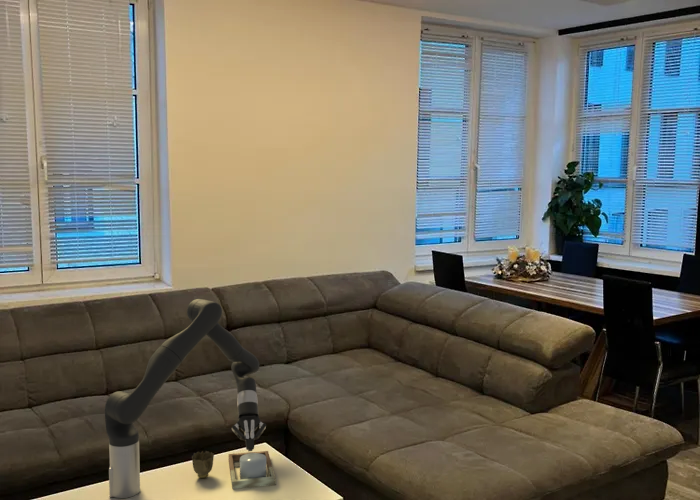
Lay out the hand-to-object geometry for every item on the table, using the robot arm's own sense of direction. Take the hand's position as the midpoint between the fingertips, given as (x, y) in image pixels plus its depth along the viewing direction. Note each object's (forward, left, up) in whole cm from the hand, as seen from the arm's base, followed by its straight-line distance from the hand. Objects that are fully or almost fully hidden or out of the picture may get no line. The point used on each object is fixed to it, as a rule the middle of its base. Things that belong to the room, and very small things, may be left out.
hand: (250, 450), depth 239 cm
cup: (-17, -3, -7) cm, 18 cm away
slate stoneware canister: (0, -8, -7) cm, 11 cm away
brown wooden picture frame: (0, -2, -7) cm, 7 cm away
